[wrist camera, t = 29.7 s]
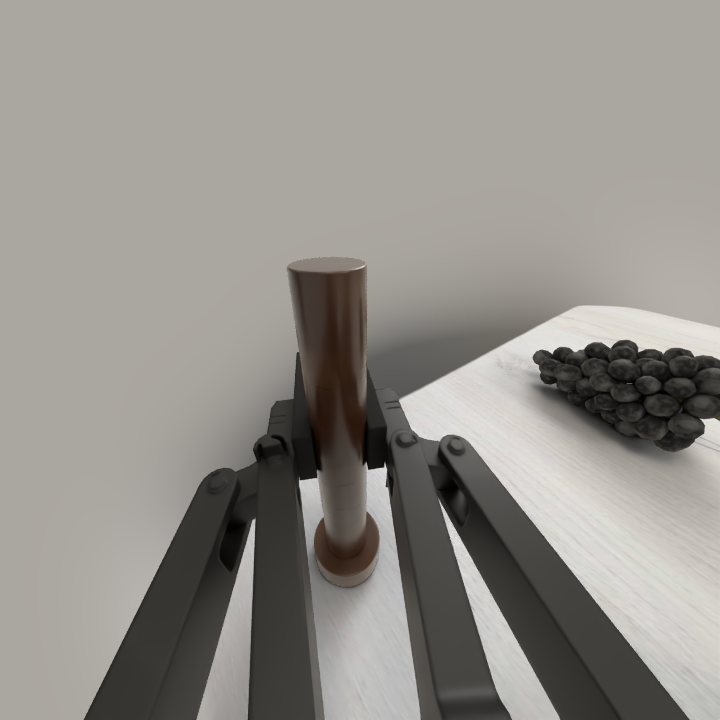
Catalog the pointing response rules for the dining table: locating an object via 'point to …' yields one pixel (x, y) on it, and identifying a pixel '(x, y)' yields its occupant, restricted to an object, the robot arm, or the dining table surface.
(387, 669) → the dining table surface
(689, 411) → the fruit
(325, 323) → the stir stick
